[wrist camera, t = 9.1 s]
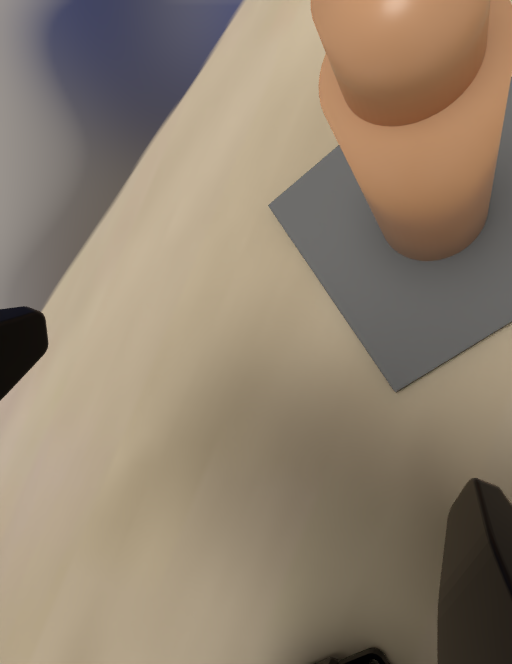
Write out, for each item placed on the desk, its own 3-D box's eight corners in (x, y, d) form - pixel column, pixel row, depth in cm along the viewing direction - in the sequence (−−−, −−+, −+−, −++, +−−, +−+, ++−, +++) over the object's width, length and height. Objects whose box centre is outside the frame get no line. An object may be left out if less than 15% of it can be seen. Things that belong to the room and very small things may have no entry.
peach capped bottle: (496, 248, 18) (560, 17, 7) (386, 270, 20) (293, 117, 9) (479, 151, 19) (511, -202, 7) (375, 180, 21) (276, -66, 9)
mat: (668, 226, 16) (675, 221, 15) (396, 392, 19) (395, 392, 19) (466, 44, 20) (466, 36, 19) (271, 208, 23) (267, 205, 23)
